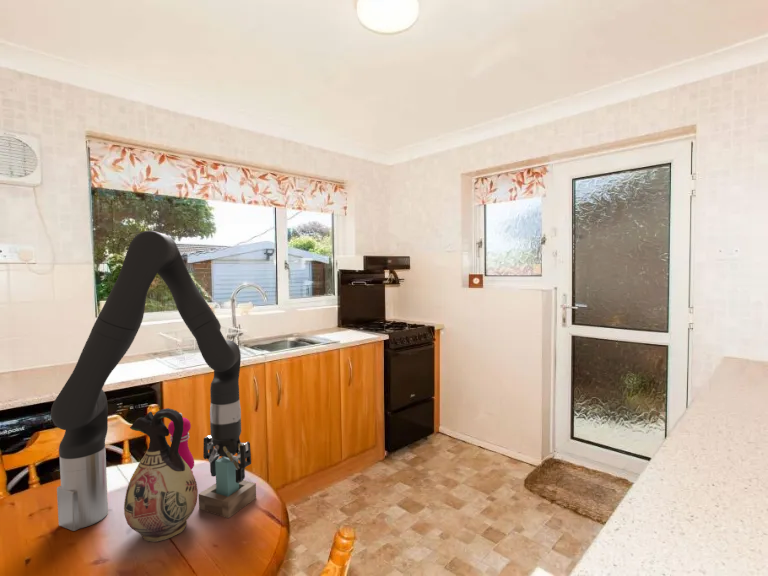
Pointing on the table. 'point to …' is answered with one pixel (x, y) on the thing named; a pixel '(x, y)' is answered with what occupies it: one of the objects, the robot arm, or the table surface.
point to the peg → (225, 477)
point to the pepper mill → (183, 442)
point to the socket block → (227, 499)
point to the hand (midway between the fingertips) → (227, 478)
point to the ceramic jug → (160, 482)
